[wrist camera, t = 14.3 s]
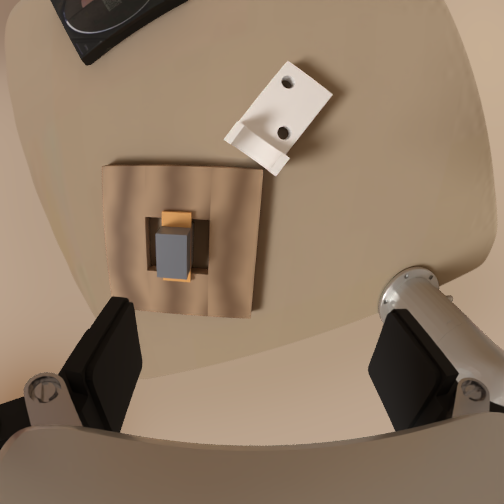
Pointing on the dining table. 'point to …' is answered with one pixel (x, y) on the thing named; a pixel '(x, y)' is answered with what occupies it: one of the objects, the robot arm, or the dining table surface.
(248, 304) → the plate
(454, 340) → the robot arm
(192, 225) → the block
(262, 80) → the dining table surface
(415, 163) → the dining table surface
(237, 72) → the dining table surface
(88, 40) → the portable cd player
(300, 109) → the bracket
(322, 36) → the dining table surface
